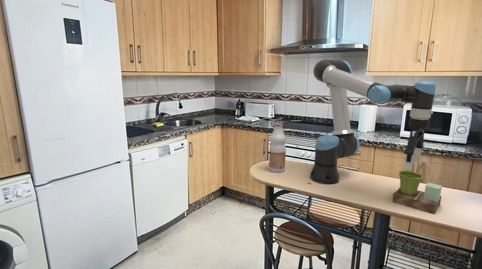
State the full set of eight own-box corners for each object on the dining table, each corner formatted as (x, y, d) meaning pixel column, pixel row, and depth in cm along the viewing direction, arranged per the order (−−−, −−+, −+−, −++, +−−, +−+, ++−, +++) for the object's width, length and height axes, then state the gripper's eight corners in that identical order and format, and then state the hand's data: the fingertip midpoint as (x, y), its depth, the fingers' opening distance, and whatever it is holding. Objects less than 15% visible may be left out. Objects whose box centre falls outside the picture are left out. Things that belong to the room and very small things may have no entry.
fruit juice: (272, 173, 162) (273, 125, 156) (266, 168, 170) (267, 122, 164) (287, 172, 164) (289, 124, 158) (281, 167, 173) (282, 122, 167)
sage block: (423, 198, 121) (425, 185, 120) (426, 195, 125) (428, 182, 123) (437, 202, 118) (439, 189, 116) (439, 198, 121) (441, 185, 120)
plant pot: (415, 189, 131) (418, 171, 129) (423, 198, 122) (426, 179, 120) (393, 187, 133) (396, 170, 131) (400, 195, 124) (402, 177, 122)
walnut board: (392, 201, 127) (393, 193, 126) (400, 193, 135) (401, 186, 134) (434, 214, 116) (436, 205, 115) (440, 204, 125) (441, 196, 124)
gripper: (422, 123, 109) (414, 174, 114) (436, 116, 127) (428, 160, 132) (401, 120, 114) (394, 169, 119) (417, 114, 132) (410, 157, 137)
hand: (411, 165), depth 126 cm, fingers open, 13 cm apart
